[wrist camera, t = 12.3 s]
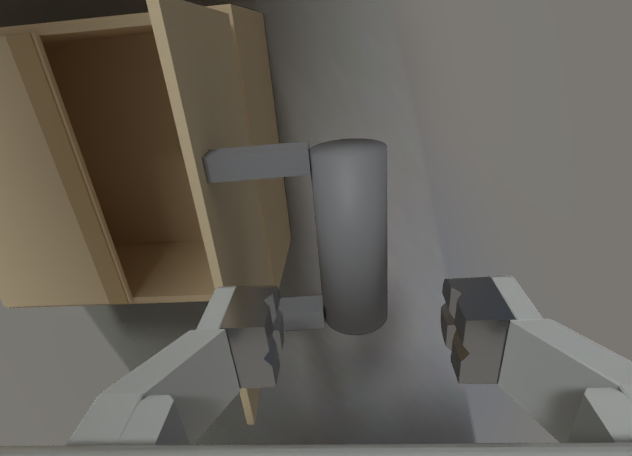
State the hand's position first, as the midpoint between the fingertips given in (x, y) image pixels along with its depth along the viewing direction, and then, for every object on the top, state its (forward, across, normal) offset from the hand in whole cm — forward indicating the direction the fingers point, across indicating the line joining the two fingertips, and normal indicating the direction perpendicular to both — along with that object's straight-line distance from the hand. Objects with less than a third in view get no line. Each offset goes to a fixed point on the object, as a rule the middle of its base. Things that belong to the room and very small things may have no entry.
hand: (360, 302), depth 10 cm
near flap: (+7, +5, 0) cm, 8 cm away
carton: (+20, +14, +1) cm, 24 cm away
